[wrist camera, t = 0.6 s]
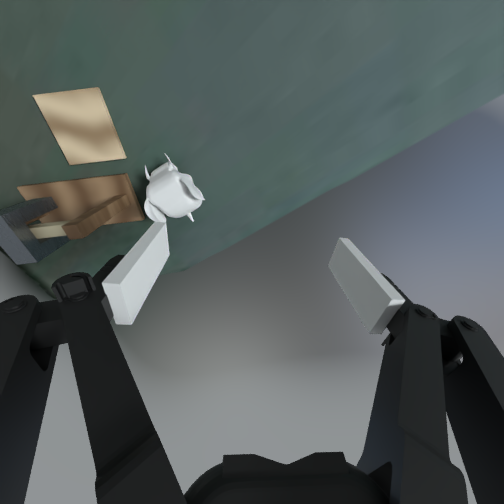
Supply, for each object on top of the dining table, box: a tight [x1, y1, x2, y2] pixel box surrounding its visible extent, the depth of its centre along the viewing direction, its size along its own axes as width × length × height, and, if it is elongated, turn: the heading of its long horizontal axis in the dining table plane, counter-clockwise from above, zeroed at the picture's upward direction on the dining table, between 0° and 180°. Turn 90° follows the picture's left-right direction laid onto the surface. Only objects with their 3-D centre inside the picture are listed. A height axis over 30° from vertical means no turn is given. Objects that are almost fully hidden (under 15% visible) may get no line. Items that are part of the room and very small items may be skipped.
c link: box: [0, 197, 70, 264], centre depth 30 cm, size 7×3×8 cm, turn 6°
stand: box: [17, 173, 145, 240], centre depth 34 cm, size 20×9×15 cm, turn 96°
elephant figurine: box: [144, 154, 205, 222], centre depth 36 cm, size 10×12×9 cm
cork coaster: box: [33, 87, 126, 165], centre depth 34 cm, size 10×10×1 cm
